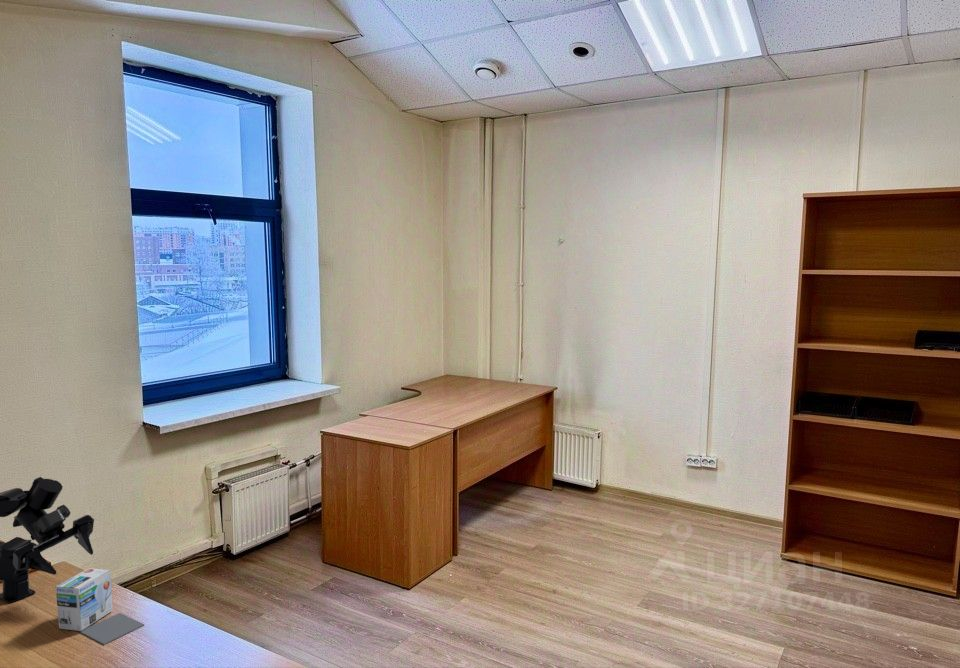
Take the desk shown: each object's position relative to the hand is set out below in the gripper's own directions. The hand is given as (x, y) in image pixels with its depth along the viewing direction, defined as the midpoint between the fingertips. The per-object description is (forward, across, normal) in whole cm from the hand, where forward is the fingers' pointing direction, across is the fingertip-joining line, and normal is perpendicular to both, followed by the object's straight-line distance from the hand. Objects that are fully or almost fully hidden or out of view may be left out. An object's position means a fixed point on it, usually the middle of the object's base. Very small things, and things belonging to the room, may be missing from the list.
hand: (74, 563), depth 168 cm
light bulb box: (+12, -3, +8) cm, 14 cm away
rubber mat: (+20, -2, +3) cm, 20 cm away
